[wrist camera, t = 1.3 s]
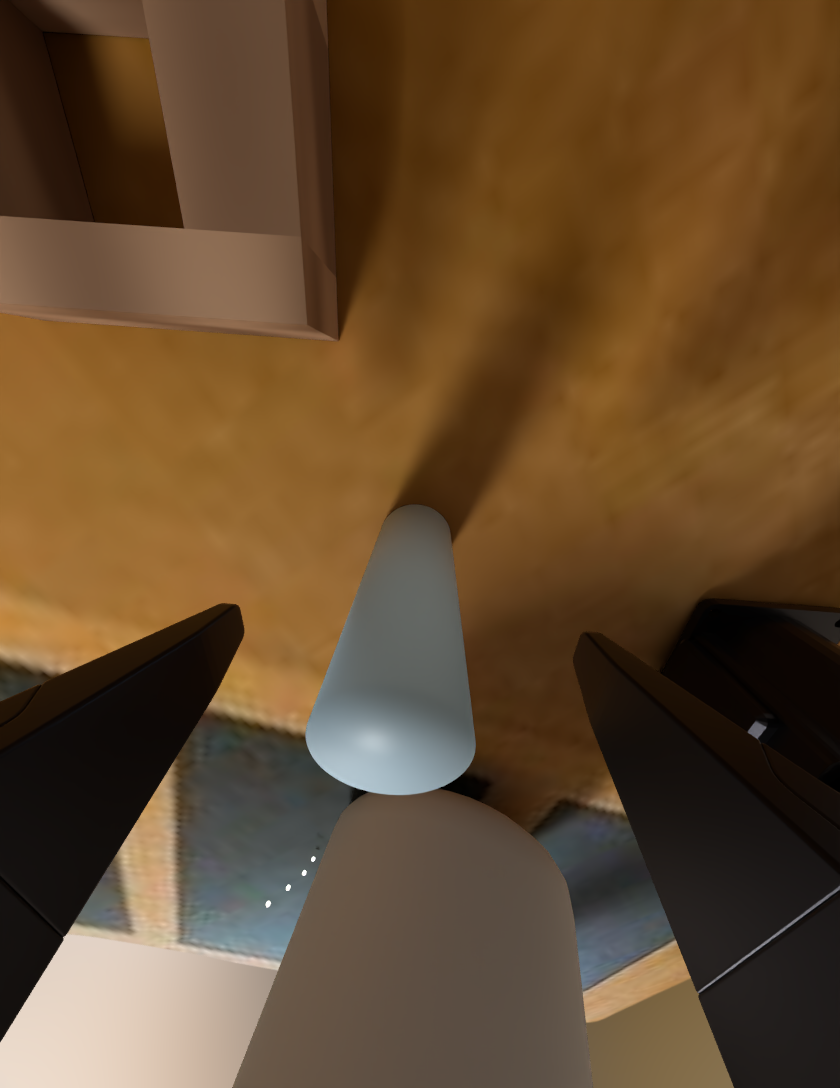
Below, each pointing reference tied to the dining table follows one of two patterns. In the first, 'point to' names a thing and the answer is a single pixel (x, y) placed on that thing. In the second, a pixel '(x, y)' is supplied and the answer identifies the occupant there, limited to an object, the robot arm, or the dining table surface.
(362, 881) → the jar
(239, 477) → the dining table surface
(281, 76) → the socket block
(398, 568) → the dowel
